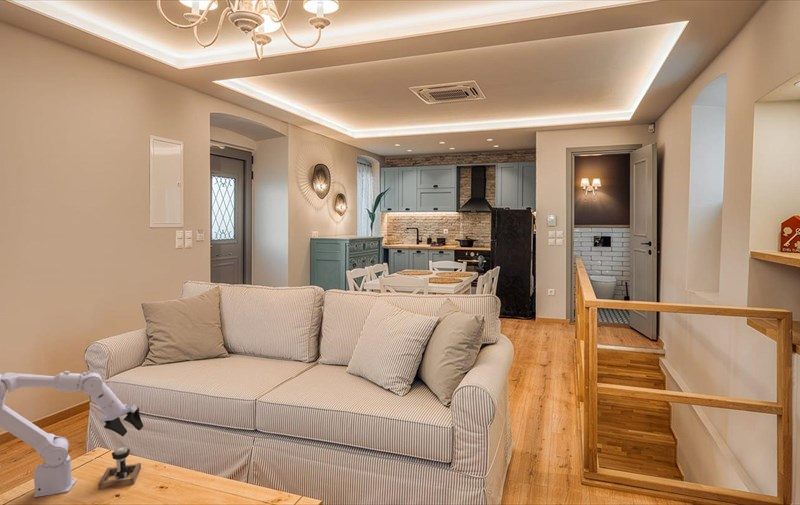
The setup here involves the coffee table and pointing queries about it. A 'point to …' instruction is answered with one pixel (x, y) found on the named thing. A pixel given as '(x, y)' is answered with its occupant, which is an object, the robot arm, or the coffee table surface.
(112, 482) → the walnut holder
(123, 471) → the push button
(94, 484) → the coffee table surface
